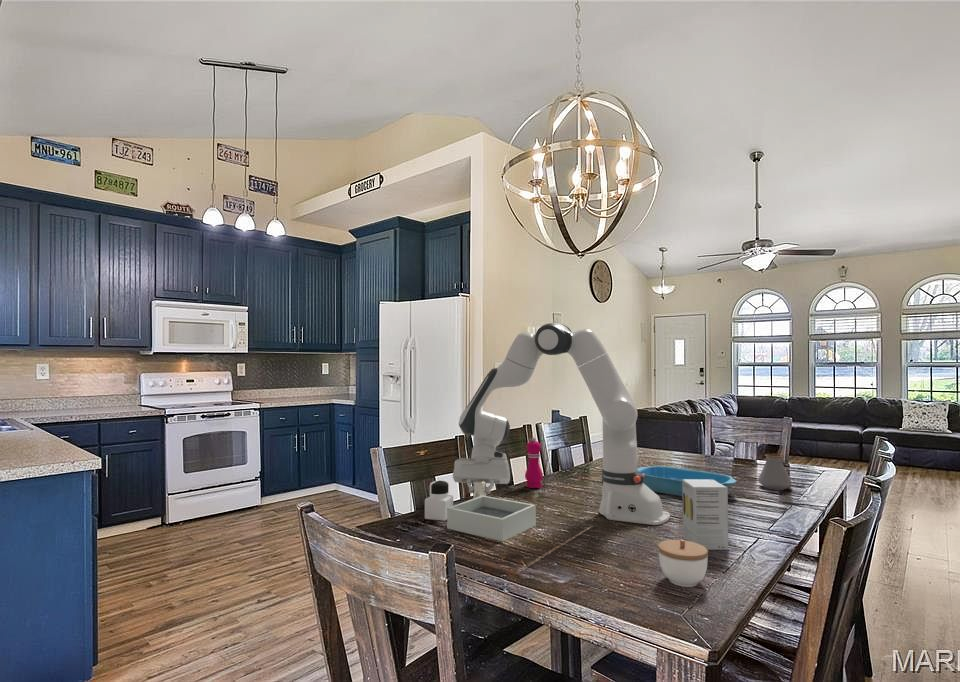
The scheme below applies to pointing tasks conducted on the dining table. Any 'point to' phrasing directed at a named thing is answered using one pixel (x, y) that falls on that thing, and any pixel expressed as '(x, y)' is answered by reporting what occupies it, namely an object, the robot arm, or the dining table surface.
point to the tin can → (479, 488)
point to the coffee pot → (774, 472)
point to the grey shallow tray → (492, 512)
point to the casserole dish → (677, 478)
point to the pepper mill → (533, 465)
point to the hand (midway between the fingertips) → (479, 492)
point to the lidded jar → (683, 561)
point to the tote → (491, 518)
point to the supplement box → (705, 513)
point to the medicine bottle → (438, 501)
